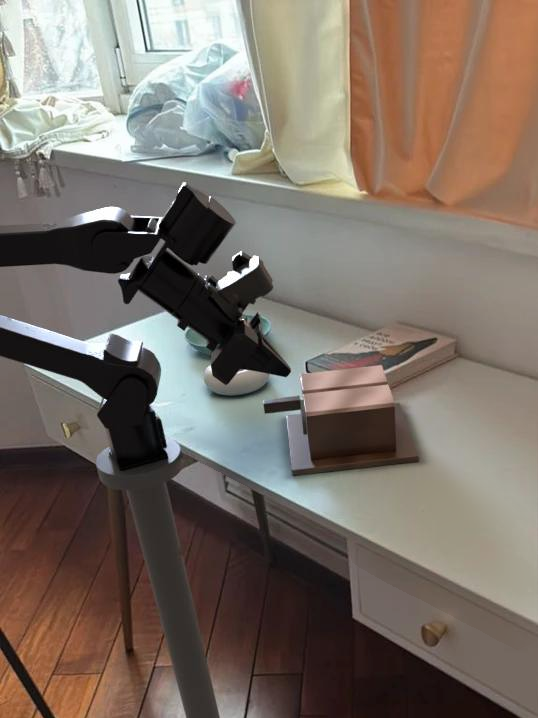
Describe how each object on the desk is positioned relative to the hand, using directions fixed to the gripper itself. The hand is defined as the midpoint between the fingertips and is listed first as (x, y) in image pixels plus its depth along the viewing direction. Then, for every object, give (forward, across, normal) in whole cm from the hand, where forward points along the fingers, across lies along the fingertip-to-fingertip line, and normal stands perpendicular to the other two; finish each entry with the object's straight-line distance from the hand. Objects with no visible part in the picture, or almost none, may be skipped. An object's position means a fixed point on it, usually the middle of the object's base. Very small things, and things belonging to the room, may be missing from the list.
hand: (289, 373), depth 107 cm
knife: (+9, 0, +3) cm, 10 cm away
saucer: (+1, +40, +14) cm, 42 cm away
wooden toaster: (+12, 0, +2) cm, 12 cm away
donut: (+2, +22, +13) cm, 26 cm away
